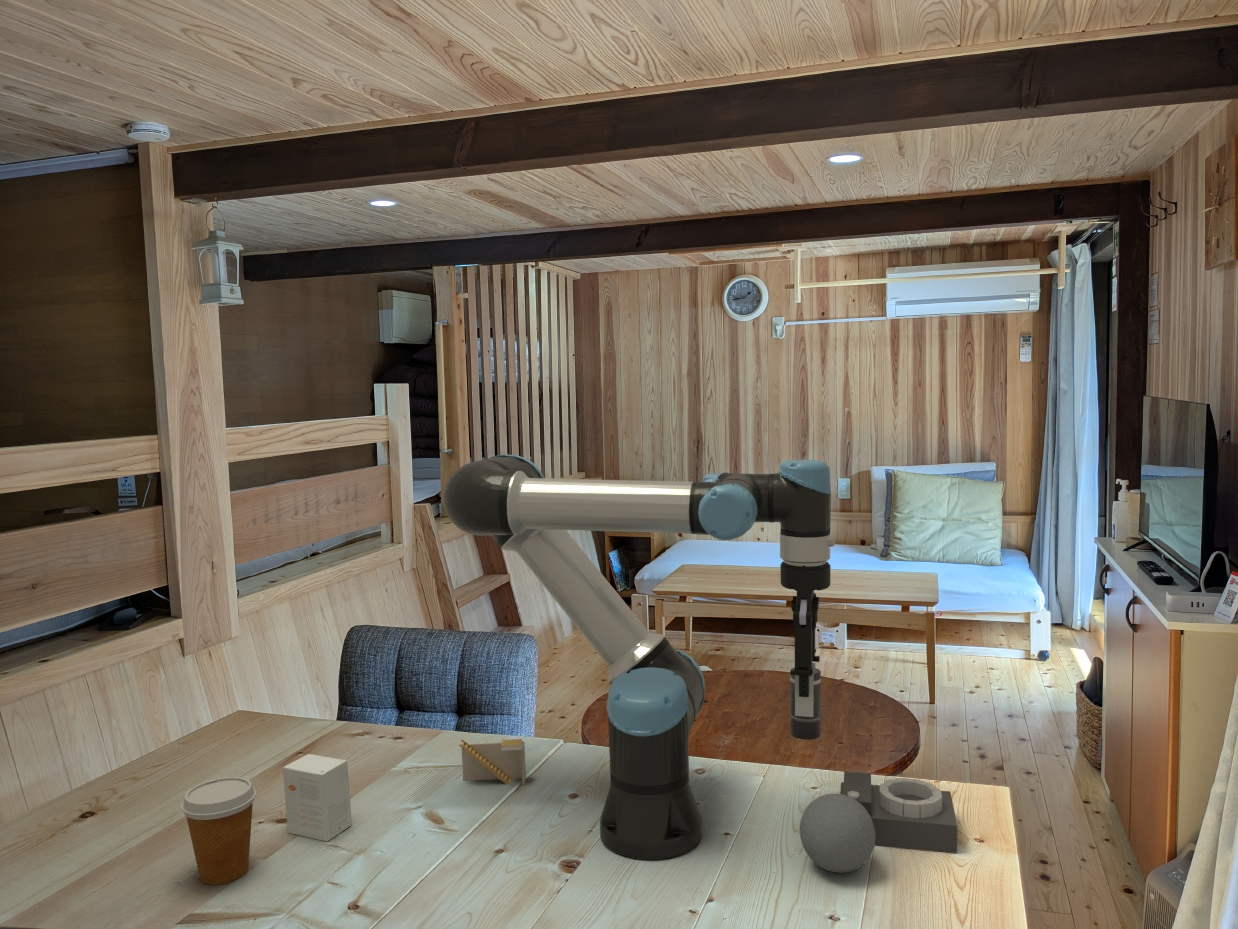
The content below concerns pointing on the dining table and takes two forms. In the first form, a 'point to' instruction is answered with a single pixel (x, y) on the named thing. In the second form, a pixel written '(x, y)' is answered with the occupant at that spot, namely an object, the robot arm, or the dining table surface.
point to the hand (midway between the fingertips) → (805, 709)
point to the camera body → (906, 812)
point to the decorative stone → (837, 833)
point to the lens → (801, 724)
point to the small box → (317, 797)
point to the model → (494, 761)
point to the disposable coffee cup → (220, 827)
